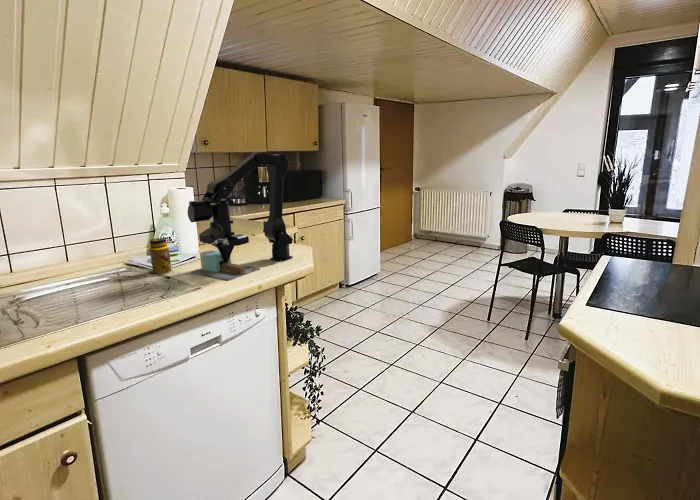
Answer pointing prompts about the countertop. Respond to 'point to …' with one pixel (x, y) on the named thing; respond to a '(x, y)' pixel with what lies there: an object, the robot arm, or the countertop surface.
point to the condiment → (159, 257)
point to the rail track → (224, 269)
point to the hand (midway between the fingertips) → (226, 262)
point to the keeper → (213, 261)
